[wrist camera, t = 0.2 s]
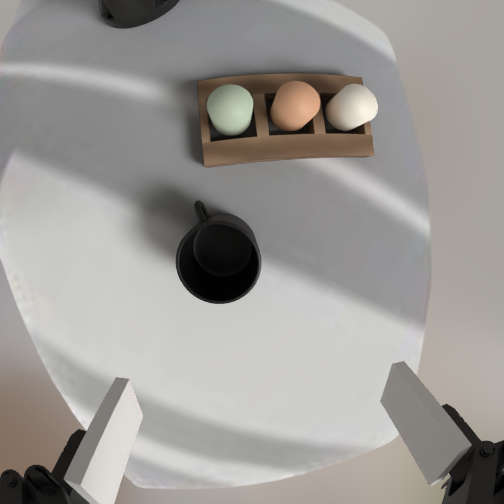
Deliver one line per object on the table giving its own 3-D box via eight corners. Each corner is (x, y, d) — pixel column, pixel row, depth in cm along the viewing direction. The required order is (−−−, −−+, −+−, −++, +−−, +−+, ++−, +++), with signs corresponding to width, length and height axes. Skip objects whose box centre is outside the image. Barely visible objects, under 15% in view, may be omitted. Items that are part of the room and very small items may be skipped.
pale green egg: (210, 103, 31) (205, 87, 25) (248, 99, 31) (250, 82, 25) (213, 138, 32) (208, 128, 26) (252, 134, 32) (255, 123, 26)
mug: (234, 185, 36) (232, 184, 27) (266, 264, 39) (274, 286, 30) (171, 212, 37) (152, 219, 28) (206, 288, 39) (197, 315, 30)
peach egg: (268, 97, 31) (273, 81, 25) (304, 96, 31) (316, 81, 26) (272, 132, 32) (278, 121, 27) (309, 131, 32) (323, 120, 27)
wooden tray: (200, 88, 33) (197, 81, 30) (353, 84, 33) (361, 77, 30) (207, 167, 35) (204, 165, 33) (365, 157, 36) (374, 155, 33)
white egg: (322, 97, 31) (336, 82, 26) (355, 98, 31) (373, 85, 26) (327, 130, 33) (343, 120, 27) (360, 131, 33) (380, 122, 27)
